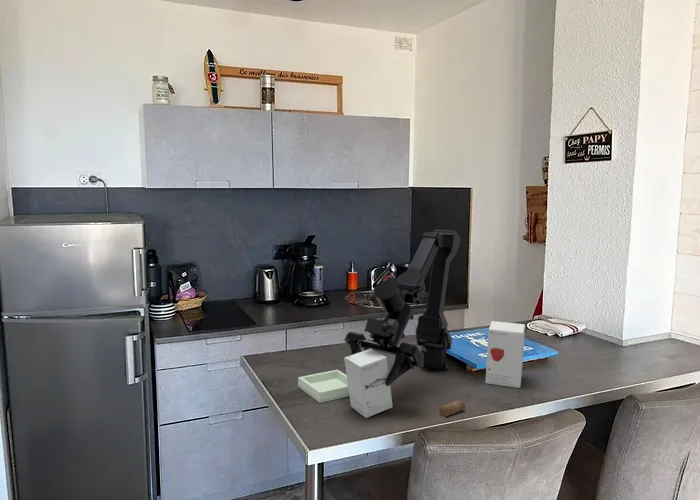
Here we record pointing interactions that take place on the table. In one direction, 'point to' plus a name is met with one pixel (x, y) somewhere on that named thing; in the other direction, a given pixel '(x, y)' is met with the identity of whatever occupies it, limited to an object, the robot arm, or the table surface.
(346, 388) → the dock tray
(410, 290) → the robot arm
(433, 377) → the table surface
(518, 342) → the supplement box
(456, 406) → the walnut lock pin
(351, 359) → the supplement box
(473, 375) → the table surface
